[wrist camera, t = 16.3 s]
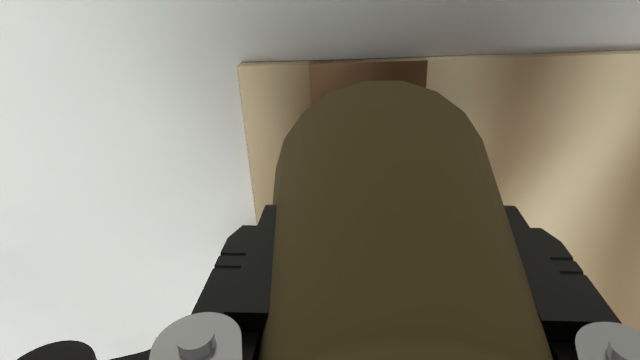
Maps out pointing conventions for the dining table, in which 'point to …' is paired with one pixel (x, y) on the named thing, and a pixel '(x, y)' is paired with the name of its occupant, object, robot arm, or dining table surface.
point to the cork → (393, 237)
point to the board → (504, 140)
